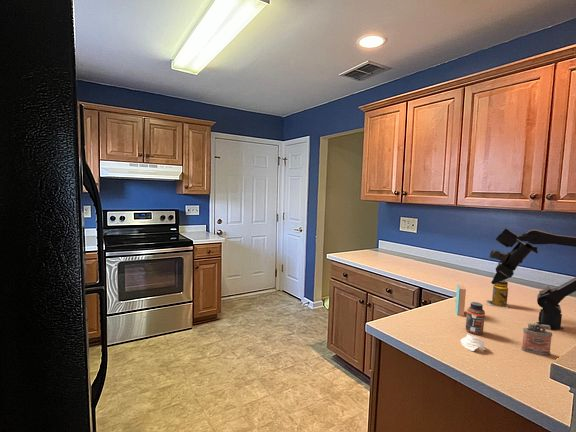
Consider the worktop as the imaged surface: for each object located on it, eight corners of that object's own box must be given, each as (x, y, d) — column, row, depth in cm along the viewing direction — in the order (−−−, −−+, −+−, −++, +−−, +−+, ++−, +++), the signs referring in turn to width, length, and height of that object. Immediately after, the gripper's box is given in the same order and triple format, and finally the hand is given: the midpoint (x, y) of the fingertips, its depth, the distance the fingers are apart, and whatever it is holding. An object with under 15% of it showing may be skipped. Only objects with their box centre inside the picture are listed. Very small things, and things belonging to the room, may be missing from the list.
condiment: (508, 308, 149) (510, 283, 148) (487, 304, 154) (489, 280, 152) (506, 303, 156) (508, 280, 155) (486, 300, 160) (488, 277, 159)
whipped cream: (456, 345, 114) (455, 332, 114) (470, 341, 116) (469, 328, 116) (475, 355, 106) (474, 341, 106) (490, 351, 108) (489, 337, 108)
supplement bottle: (476, 336, 119) (478, 307, 118) (461, 329, 125) (464, 301, 124) (486, 333, 122) (489, 305, 121) (472, 327, 127) (474, 300, 126)
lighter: (523, 351, 109) (525, 323, 108) (519, 347, 112) (522, 319, 111) (551, 356, 106) (555, 328, 105) (547, 352, 109) (550, 324, 108)
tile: (461, 310, 145) (463, 285, 144) (463, 316, 138) (465, 289, 137) (455, 309, 146) (457, 284, 145) (457, 315, 139) (459, 288, 138)
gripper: (501, 240, 147) (478, 266, 153) (497, 245, 132) (473, 273, 138) (525, 255, 142) (501, 281, 148) (524, 262, 127) (498, 291, 133)
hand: (493, 281), depth 142 cm, fingers open, 9 cm apart
